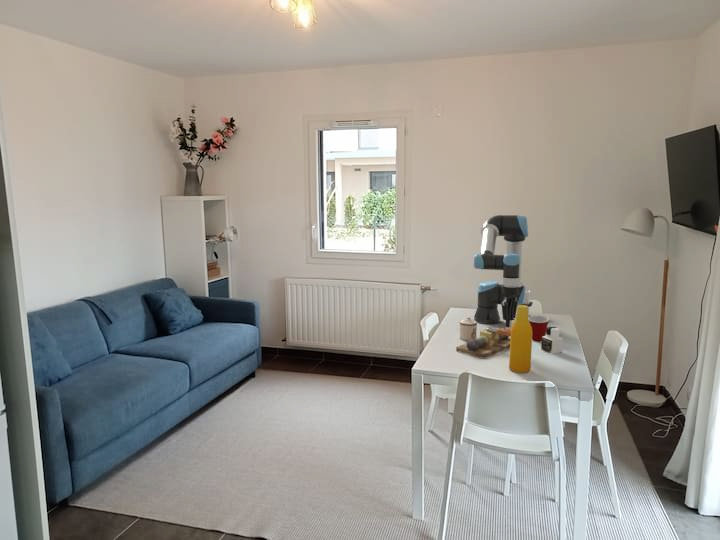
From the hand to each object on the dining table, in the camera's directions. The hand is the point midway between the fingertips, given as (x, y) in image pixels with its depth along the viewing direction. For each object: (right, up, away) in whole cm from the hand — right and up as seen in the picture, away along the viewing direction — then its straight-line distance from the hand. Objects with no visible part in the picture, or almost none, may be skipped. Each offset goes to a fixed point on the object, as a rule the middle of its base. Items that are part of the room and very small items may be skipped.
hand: (508, 333), depth 269 cm
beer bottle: (-2, -14, -25) cm, 29 cm away
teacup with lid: (-15, -5, +24) cm, 29 cm away
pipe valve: (-8, -8, +7) cm, 13 cm away
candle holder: (+27, +2, +70) cm, 75 cm away
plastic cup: (+20, -6, +19) cm, 28 cm away
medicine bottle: (+21, -9, +1) cm, 23 cm away
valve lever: (-4, 0, +2) cm, 5 cm away
